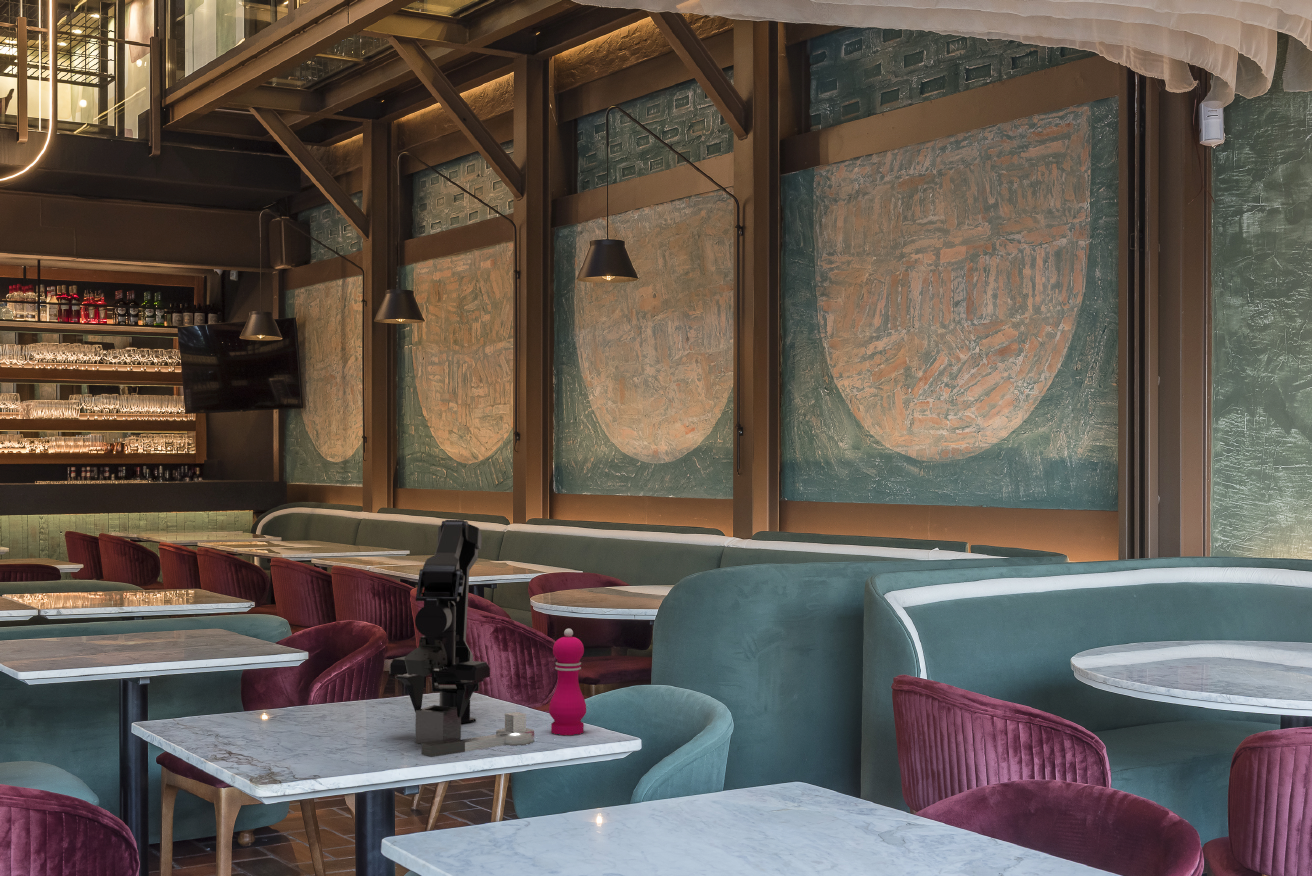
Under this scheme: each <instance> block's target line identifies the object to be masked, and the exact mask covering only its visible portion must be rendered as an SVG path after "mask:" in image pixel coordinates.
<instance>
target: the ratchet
mask: <svg viewBox="0 0 1312 876" xmlns="http://www.w3.org/2000/svg"><path fill="white" fill-rule="evenodd" d="M526 721H527V714H526V713H523V712H518V711H516V712H508V713H506V712H505V713H504V728H498V729H497V730H496V733H495V734H489V735H484V736H476V737H470V738H464V739H463V738H461V739H458V738H451V739H444V740H437V741H431V742H424V743H422V744H421V753H420V754H421V755H423V756H427V757H429V758H433V757H439V756H441V757H442V756H446V755H454V754H460V753H461V754H462V753H465V752H471V751H476V750H483V749H489V747H490V748H495V746H497V747H502V745H503V746H506V745H510V746H511V747H517V745H521V746H527V745H526V744H528V745H531V744H530V743H532V744H534V743H535V730H534V729H532V728H528V727H526V725H527V724H526V723H527V722H526ZM533 742H534V743H533ZM510 746H509V747H510Z"/></svg>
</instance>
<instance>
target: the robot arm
mask: <svg viewBox="0 0 1312 876" xmlns="http://www.w3.org/2000/svg"><path fill="white" fill-rule="evenodd" d="M436 541H437V542H436V545H437V546H436V549H435V553H434V554H433V555H432V556H430V557H429V558H427V559H425V561H424V564H423V565H422V568H420V570H419V572H418V573H419V574H418V579H417V587H416V595H415V602H423V607H421V609H419V610H418V611H417V612H416V616H415V619H414V625H415V627H416V630H417V631H418V633H420V634H421V635H422V636H420V637H419V641H418V642H419V644H418V647H416V648H415V649H413V650H412V651H410V652H409V653H408V654H406V655H405V656H401V657H397V658H392V660H391V662H390V663H389V675H395V679H396V680H399V681H400V682H401V683H402V684H403V685H404V686H405V689H406V690H407V693H408V694H409V697H410V701H411V704H412V707H413V710H414V712H415V714H416V710H419V709H422V706H423V697H424V687H425V679H426V678H425V677H428V676H429V675H431V691H432V693H436V692H438V693H439V706H448V707H457V717H461V724H465V723H473V722H476V721H477V718H475V717H471V698H472V696H473V694H474V693H475V692H479V691H480V683H482V682H484V679H486V678H490V677H491V673H490V672H491V668H490V666H489V664H488V663H487V661H477V660H474V654H473V653H472V651H471V649H470V647H469V645H468V643H467V624H468V623H467V621H468V605H469V584H470V583H469V582H470V581H469V580H470V570H471V569H472V568H473V566H474V565H475V563H476V562H477V561H478V559H479V558H478V557H479V550H481V549H482V533H481V530H480V528H479V527H478V526H475V525H473V524H470V523H469V522H468V521H467V520H465V519H445V520H442V521H441V525H440V526H438V528H437V540H436Z"/></svg>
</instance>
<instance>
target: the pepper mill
mask: <svg viewBox="0 0 1312 876" xmlns="http://www.w3.org/2000/svg"><path fill="white" fill-rule="evenodd" d="M563 635H564V636H562V637H560V638H558V639H556V640H555V642H554V643H553V646H552V647H553V648H552V654H553V656H554V658H555V659H556V661H555V667H554V669H555V670H556V671H557V672H556V673H557V683H556V687H555V690H554V693H553V695H552V697H551V699H550V703H549V705H548V706H549V707H548V713H549V716H550V717H551V718H552V719H553V722H552V723H551V726H550V727H551V729H550V730H551V734H553V733H554V734H553V735H556V734H560V735H559V736H575V735H574V734H578V735H582V734H583V733H584V725H585V724H584V722H583V721H582V719H583V718H584V717H585V715H586V714H587V704H586V700H585V698H584V695H583V693H582V690H581V688H580V683H579V673H580V670H582V667H581V665H582V662H581V661H580V660H581V659H582V658H583V656H584V653H585V647H584V644H583V642H582V641H581V640H580V639H579V638H577V637H575V636H573V635H574V631H573V630H572V628H566V629H565V630H564V632H563ZM581 733H582V734H581Z"/></svg>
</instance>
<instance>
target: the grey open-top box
mask: <svg viewBox="0 0 1312 876" xmlns="http://www.w3.org/2000/svg"><path fill="white" fill-rule="evenodd" d="M414 735H415V738H414V739H415V741H414V742H415V744H421V745H422V743H424V742H431V741H437V740H444V739H451V738H458V739H461V740H462V723H461V717H457V707H448V706H440V705H435V704H434V705H429V706H426V707H423V708H422V707H421V709H419V710H416V713H415V734H414Z"/></svg>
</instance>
